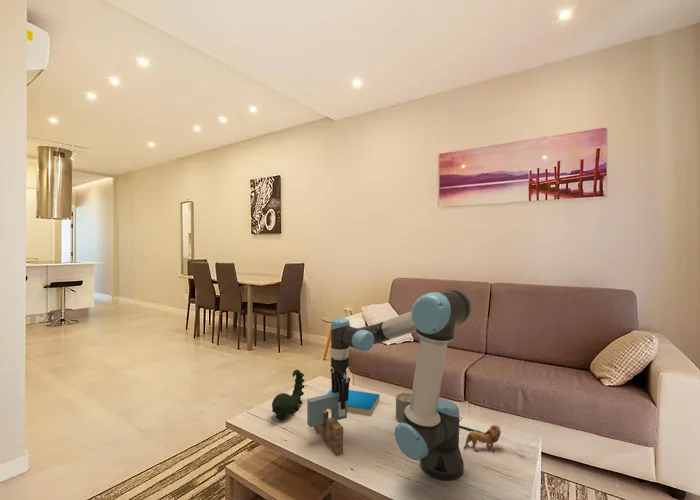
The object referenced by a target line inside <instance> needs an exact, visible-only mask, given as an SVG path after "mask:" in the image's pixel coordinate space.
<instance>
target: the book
mask: <svg viewBox="0 0 700 500" xmlns="http://www.w3.org/2000/svg"><path fill="white" fill-rule="evenodd" d="M327 394H332V388H331V389H330V390H329V391H328V392H327V393H326V394H325V395H327ZM379 402H380V394H379V393H374V392H373V393H372V392H367V391H359V390H353V389H352V390H351V389H349V397H348V401H347V413H349V412H350V413H351V414H356V415H361V416H368V417H371V416H372V415H373V413H374V411H375V410H376V407H377V405H378V404H379Z"/></svg>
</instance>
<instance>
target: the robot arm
mask: <svg viewBox="0 0 700 500" xmlns="http://www.w3.org/2000/svg"><path fill="white" fill-rule="evenodd" d="M472 308H473V306H472V303H471V300H470V299H469V297H468V295H466V294H465V293H464V292H462V291H460V290H459V289H447V290H440V291H433V292H427V293H426V294H423V295H421V296H420V297H418V298H417V299H416V301H415V302H414V303H413V305H412V309H411V311H408V312H406V313H403V314H400V315H397V316H394V317H391V318H389V319H386V320H383V321H381V322H377V323H374V324H370V325H367V326H362V327H354V326H350V320H349V319H348V318H343V317H342V318H341V317H340V318H338V317H337V318H334V319H332V320H331V324H330V325H331V326H330V367H331V368H330V379H331V389H332V393H336V392H339V399H340V400H338V417H342V416H345V401H348V397H349V390H350V383H351V382H350V381H351V378H350V377H348V376H347V375H348V372H347V369H348V368H349V367H350V349H351V348H353V349H355V350H358V351H364V352H368V351H370V350H371V348H373V345H376V344H379V343H380V344H381V343H384V342H387V341H390V340H392V339H396V338H399V337H402V336H405V335H408V334H412V333H415V332H416V334H417V335H418V336H419V342H418V349H417V356H416V361H415V363H416V364H415V369H414V375H413V376H414V377H413V382H412V389H411V393H412V396H411V403H410V405H408V406H407V407H406V408H405V410H404V417H403V422H402V423H400V422H398V424H397V425H396V426H395V429H394V439H395V442H396V445H397V446H398V448H399V450H400V451H401V453H402V454H404V456H405V457H406V458H408V459H410V460H413V461H419V466H420V468H421V470H422V471H423V472H424V473H425V474H427V475H428V476H430V477H432V478H434V479H437V480H440V481H441V480H442V481H453V480H456V479H459V478H460V477H461V476H462V475H464V471H465V462H464V460H463V455H462V453H461V449H460V428H459V421H460V417H461V416H460V409H459V406H458V405H457V404H456V403H454V402H453V401H450V400H448V399H446V398H445V399H444V398H440V393H441V387H442V381H443V375H444V367H445V363H446V356H447V350H448V344H449V343H450V342H452V341H453V340H455V339H454V338H455V332H456V327H457V326H460V325H462V324H464V323H465V322H466V321H468V319H470V316H471V314H472Z"/></svg>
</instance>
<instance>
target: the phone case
mask: <svg viewBox="0 0 700 500" xmlns="http://www.w3.org/2000/svg"><path fill="white" fill-rule="evenodd" d="M492 425H493V424H489V423H486V422H482V421H479V420H478V421H477V420H474V419H471V418H467V417H461V418H459V429H462V430H466V431H468V432H471V431H476V432H479V433H485V432H487V431H488V429H490V428H491V427H490V426H492Z"/></svg>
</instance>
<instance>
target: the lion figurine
mask: <svg viewBox="0 0 700 500" xmlns="http://www.w3.org/2000/svg"><path fill="white" fill-rule="evenodd" d="M491 425H492V426H490V427H491V428H490V429H488V431H487V432H485V433H479V432H476V431H472V432H471V431H469V433H468V434H467V436H466V440H465V445H464V447H463V449H464V450H465V449H467V448H469V447H470V445H469V443H470V442H472V448H473V450H474V452H476V453H478V452H479V449H477V447H476V446H477V443H478V442H479V443H481V444H485V446H486V448H487V449H489V450H490V452H491V451H492V452H491V453H494V452H495V450H494V444H495V443H497V442H498V441H499V439H500V437H501V433H502V430H501V427H500V426H499V425H497V424H491Z"/></svg>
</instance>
